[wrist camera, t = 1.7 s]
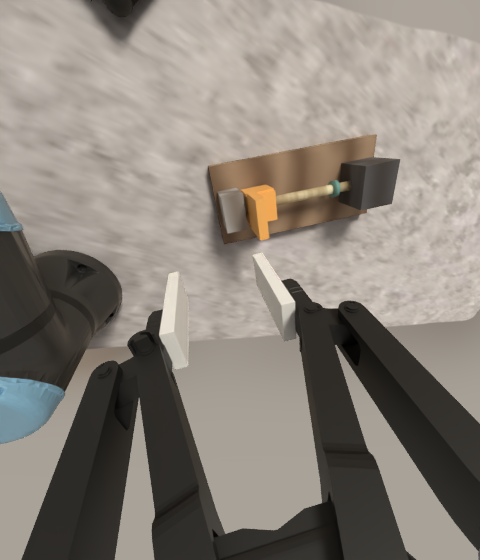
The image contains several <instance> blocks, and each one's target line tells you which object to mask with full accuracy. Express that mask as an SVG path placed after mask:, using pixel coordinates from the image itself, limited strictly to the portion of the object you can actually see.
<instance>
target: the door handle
mask: <svg viewBox="0 0 480 560" xmlns="http://www.w3.org/2000/svg"><path fill="white" fill-rule="evenodd" d="M91 1H92V0H91ZM91 1H90V2H91ZM137 1H138V0H103V2H104V3H105V4H106V6H107V7H108V8H109V10H110V11H111V12H112V13H114V14H115V15H117V16H119V17H126V16H128V15H129V14H130V12H131V11H132V7H133V5H134V4H135V3H136V2H137Z"/></svg>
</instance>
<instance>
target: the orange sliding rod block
mask: <svg viewBox="0 0 480 560" xmlns="http://www.w3.org/2000/svg"><path fill="white" fill-rule="evenodd" d="M241 192H242V193H243V198H244V201H245V202H246V205H247V212H246V219H247V222H248V223H249V225H251V229H252V230H253V232H254V233H255V234H256V236H257V237H258V238H259V240H260V241H261V240H265V239H269V231H268V221H273V220H277V207H276V193H275V190H274V188H272V187H270V186H268V185H261V186H256V187H251V188H246V189H241Z"/></svg>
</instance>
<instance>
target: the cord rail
mask: <svg viewBox="0 0 480 560" xmlns="http://www.w3.org/2000/svg"><path fill="white" fill-rule="evenodd" d="M376 137H377V135H367V136H362V137H357V138H352V139H346V140H341V141H336V142H331V143H326V144H320V145H315V146H310V147H305V148H300V149H294V150H289V151H284V152H279V153H274V154H268V155H263V156H258V157H253V158H248V159H242V160H237V161H232V162H227V163H221V164H216V165H211V166H208V168H209V173H210V178H211V183H212V188H213V193H214V198H215V202H216V207H217V212H218V217H219V222H220V227H221V231H222V236H223V241H224V244H227V243H232V242H236V241H241V240H245V239H250V238H254V237H257V236H256V234H255V233H254V232H253V230H252V229H251V225H249V223H248V222H247V219H246V212H247V205H246V202H245V201H244V198H243V193H242V192H241V189H246V188H251V187H256V186H261V185H268V186H270V187H272V188H274V190H275V193H276V207H277V220H273V221H268V231H269V234H272V233H277V232H282V231H286V230H291V229H295V228H300V227H304V226H309V225H313V224H318V223H322V222H327V221H332V220H336V219H341V218H345V217H350V216H354V215H359V214H363V213H366V212H367V209H370V208H374V207H379V206H384V205H388V204H392V200H393V195H394V189H395V184H396V179H397V173H398V168H399V163H400V159H389V158H375V157H374V152H375V144H376Z"/></svg>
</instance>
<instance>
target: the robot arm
mask: <svg viewBox="0 0 480 560" xmlns="http://www.w3.org/2000/svg"><path fill="white" fill-rule="evenodd" d="M22 230H24V229H23V227H22V225H21V224H20V223H18V222H17V220H16V218H15V216H14V214H13V212H12V211H11V209H10V207H9V205H8V203H7V201H6V200H5V198H4V196H3V194H2V193H1V191H0V444H3V443H8V442H11V441H15V440H18V439H21V438H24V437H26V436H28V435H30V434H32V433H34V432H35V431H37V430H38V429H39V428H41V426H43V425H44V424H46V422H47V421H48V420H49V418H50V417H51V415H52V414H53V412H54V411H55V409H56V407H57V406H58V404H59V403H60V401H61V400H62V399H63V398H64V395H65V390H66V388H67V386H68V384H69V382H70V380H71V378H72V376H73V374H74V372H75V370H76V368H77V366H78V364H79V362H80V360H81V358H82V356H83V354H84V352H85V350H86V348H87V346H88V344H89V342H90V340H91V338H92V336H93V335H94V334H95V333H97V332H98V331H99V330H100V329H101V328H103V327H104V326H105V325H106V324H107V323H109V322H110V321H111V320H112V318H113V317H114V316H115V314H116V313H117V311H118V308H119V306H120V304H121V300H122V290H121V286H120V283H119V281H118V279H117V278H116V276H115V275H114V274H113V272H112V271H111V270H110V269H109V268H108V267H107V266H105V265H104V264H103V263H101V262H100V261H98V260H96V259H94V258H93V257H90V256H88V255H85V254H82V253H79V252H74V251H67V250H55V251H48V252H44V253H41V254H39V255H37V256H35V257H33V254H32V252H31V250H30V248H29V245H28V243H27V241H26V238H25V236H24V234H23V232H22ZM253 261H254V268H255V275H256V283H257V286H258V288H259V290H260V292H261V294H262V296H263V298H264V300H265V303H266V305H267V307H268V309H269V311H270V313H271V315H272V317H273V319H274V321H275V323H276V325H277V328H278V330H279V332H280V334H281V336H282V338H283V340H284V341H288V340H292V339H296V332H297V334H298V335H299V337H300V352H301V355H302V362H303V368H304V375H305V382H306V389H307V395H308V402H309V409H310V415H311V422H312V428H313V435H314V442H315V449H316V455H317V462H318V469H319V476H320V484H321V495H322V503H321V504H318V505H315V506H312V507H309V508H305V509H303V510H302V511H301V512H300V513H298V514H297V515H296V516H294V517H293V518H292V519H291V520H289V521H288V522H287V523H286V524H284V525H283V526H282V527H281V528H279V529H278V530H274V531H273V530H257V529H240V530H237V531H234V532H231V533H228V534H225V532H224V530H223V527H222V524H221V522H220V519H219V517H218V514H217V512H216V509H215V505H214V502H213V499H212V495H211V492H210V489H209V486H208V483H207V479H206V476H205V473H204V470H203V467H202V463H201V460H200V457H199V454H198V450H197V447H196V444H195V441H194V438H193V434H192V431H191V428H190V425H189V422H188V418H187V416H186V412H185V409H184V406H183V402H182V399H181V396H180V393H179V389H178V386H177V383H176V380H175V377H174V374H173V372H172V364H173V366H174V368H175V370H176V369H180V368H184V367H188V354H189V353H188V351H189V348H188V347H189V300H188V297H187V294H186V291H185V288H184V285H183V282H182V279H181V276H180V273H179V272H174V273H170V274H169V276H168V282H167V288H166V295H165V301H164V307H163V310H159V311H154V312H152V314H151V315H150V316H149V318H148V322H147V326H146V330H143V331H140V332H138V333H136V334H134V335H133V336H132V337H131V338H130V339H129V341H128V344H127V346H128V347H129V349H130V351H131V352H132V354H133V356H134V357H132V358H131V359H129V360H127V361H125V362H123V363H121V364H119V365H118V363H117V362H116V361H108V362H105V363H103V364H101V365H100V366H98V367H97V368H96V369H95V370H94V371H93V372H92V374H91V376H90V378H89V381H88V384H87V386H86V389H85V392H84V394H83V397H82V400H81V402H80V405H79V408H78V410H77V413H76V416H75V418H74V421H73V424H72V427H71V429H70V432H69V434H68V437H67V440H66V442H65V445H64V448H63V450H62V453H61V456H60V459H59V461H58V464H57V466H56V469H55V472H54V474H53V477H52V480H51V483H50V485H49V488H48V490H47V493H46V496H45V498H44V501H43V504H42V506H41V509H40V512H39V514H38V517H37V520H36V522H35V525H34V528H33V530H32V533H31V536H30V538H29V541H28V544H27V546H26V549H25V552H24V554H23V557H22V560H114V559H115V552H116V546H117V539H118V532H119V526H120V519H121V512H122V506H123V499H124V492H125V486H126V478H127V472H128V466H129V459H130V452H131V446H132V439H133V431H134V426H135V418H136V412H137V406H138V398H140V405H141V411H142V420H143V426H144V434H145V442H146V449H147V456H148V464H149V471H150V478H151V485H152V493H153V500H154V508H155V519H154V521H153V523H152V542H153V550H154V558H155V560H416V559H415V558H414V557H413V556H411V555H410V554H409V553H408V552H407V551H406V550H405V547H404V544H403V541H402V538H401V535H400V532H399V529H398V526H397V523H396V520H395V516H394V514H393V510H392V507H391V504H390V501H389V498H388V495H387V492H386V489H385V486H384V483H383V480H382V477H381V474H380V471H379V468H378V465H377V463H376V460H375V459H374V457H373V455H372V454H371V453H370V452H369V451H368V449H367V447H366V444H365V441H364V438H363V434H362V431H361V428H360V425H359V421H358V418H357V415H356V412H355V409H354V405H353V402H352V399H351V396H350V393H349V390H348V386H347V383H346V380H345V377H344V373H343V370H342V367H341V364H340V361H339V358H338V354H337V351H336V348H335V345H337V346H338V348H339V349H340V351H341V352H342V354H343V355H344V357H345V358H346V360H347V361H348V363H349V365H350V366H351V368H352V369H353V371H354V372H355V373H356V375H357V377H358V378H359V380H360V381H361V383H362V384H363V386H364V387H365V389H366V390H367V392H368V393H369V395H370V396H371V398H372V399H373V401H374V402H375V404H376V405H377V407H378V409H379V410H380V412H381V413H382V414H383V416H384V418H385V419H386V420H387V422H388V424H389V425H390V427H391V428H392V430H393V431H394V433H395V434H396V436H397V437H398V439H399V440H400V442H401V443H402V445H403V446H404V448H405V449H406V451H407V453H408V454H409V456H410V457H411V458H412V460H413V462H414V463H415V464H416V466H417V468H418V469H419V471H420V472H421V474H422V475H423V477H424V478H425V480H426V481H427V483H428V484H429V486H430V487H431V489H432V490H433V492H434V493H435V495H436V496H437V498H438V499H439V501H440V502H441V504H442V505H443V507H444V508H445V510H446V511H447V512H448V514H449V515H450V516H451V518H452V519H453V521H454V522H455V523H456V525H457V526H458V527H459V528H460V529H461V531H462V532H463V533H464V535H465V536H466V537H467V538H468V540H469V541H470V542H471V543H472V544H473V546H474V547H476V549H477V550H478V551H479V553H478V556H479V560H480V424H479V423H478V422H477V421H476V420H475V419H474V418H473V417H472V416H471V414H469V413H468V411H467V410H466V409H465V408H464V407H463V406H462V405H461V404H460V403H459V402H458V401H457V400H456V399H455V398H454V397H453V396H452V395H450V393H449V392H448V391H447V390H446V389H445V388H444V387H443V386H442V385H441V384H440V383H439V382H438V381H437V380H436V379H435V378H434V377H433V376H432V375H431V374H430V373H429V372H428V371H427V370H426V369H425V368H424V367H423V366H422V365H421V364H420V363H419V362H418V361H417V360H416V358H415V357H414V356H413V355H412V354H410V352H409V351H408V350H407V349H406V348H405V347H404V346H403V345H402V344H401V343H400V342H399V341H398V340H397V339H396V338H395V337H394V336H393V335H392V334H391V333H390V332H389V331H388V330H387V329H386V328H385V327H384V326H383V325H382V324H381V323H380V322H379V321H378V320H377V319H376V318H375V317H374V316H373V315H372V314H371V313H370V312H369V311H368V310H367V309H366V308H365V307H364V306H363V305H362V304H361V303H358V302H356V301H344V302H342V303H340V304H339V308H338V309H327V308H323V307H322V306H321V305H320V304H318V303H315V302H312V300H311V299H310V298H309V297H308V295H307V294H306V293H305V292H304V290H303V289H302V288H301V287H300V285H299V284H298V283H297V281H295V280H293V279H287V280H283V281H281V280H280V279H279V277H278V276H277V274H276V273H275V271H274V270H273V268H272V267H271V265H270V264H269V262H268V261H267V259H266V258H265V256H264V255H263V253H258V254H254V255H253Z"/></svg>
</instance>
